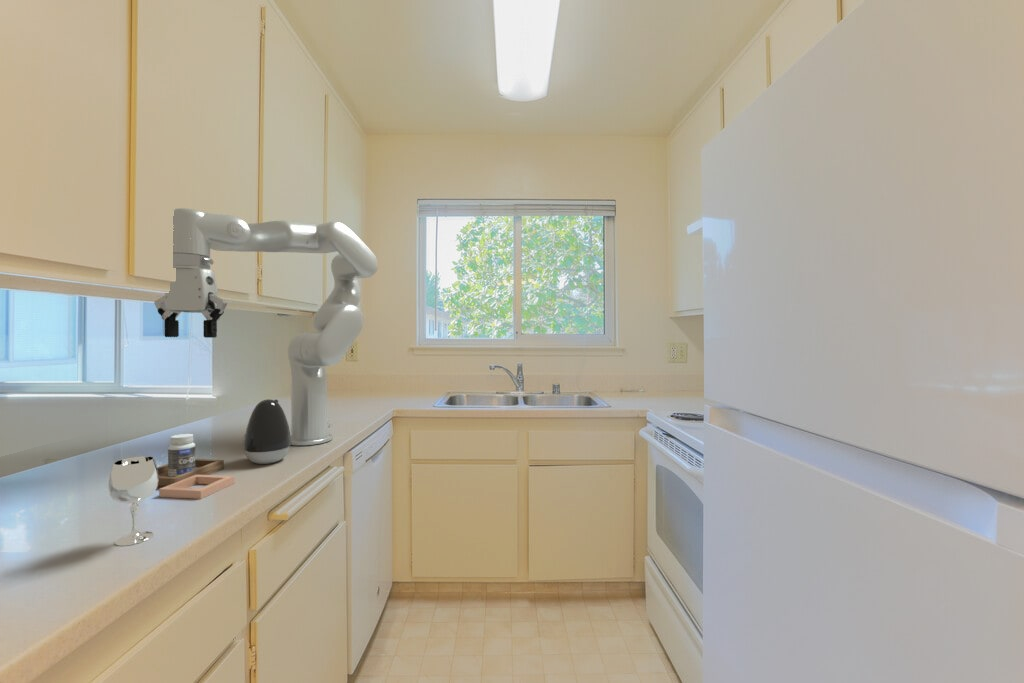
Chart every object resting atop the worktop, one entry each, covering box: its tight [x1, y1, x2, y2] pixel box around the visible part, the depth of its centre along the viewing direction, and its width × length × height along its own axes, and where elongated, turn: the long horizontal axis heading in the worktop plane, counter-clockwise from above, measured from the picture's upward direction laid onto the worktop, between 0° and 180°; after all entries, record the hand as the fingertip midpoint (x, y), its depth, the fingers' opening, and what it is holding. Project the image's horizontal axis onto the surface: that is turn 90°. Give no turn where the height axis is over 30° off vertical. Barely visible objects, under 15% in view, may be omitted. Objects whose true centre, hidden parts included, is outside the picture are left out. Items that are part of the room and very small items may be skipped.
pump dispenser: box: [242, 399, 292, 465], centre depth 106 cm, size 10×10×15 cm
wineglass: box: [108, 455, 159, 547], centre depth 66 cm, size 6×6×12 cm
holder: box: [158, 474, 235, 500], centre depth 87 cm, size 9×9×2 cm
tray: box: [157, 458, 225, 489], centre depth 94 cm, size 13×10×2 cm
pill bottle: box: [167, 433, 196, 477], centre depth 94 cm, size 5×5×8 cm
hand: (190, 337), depth 101 cm, fingers open, 9 cm apart
